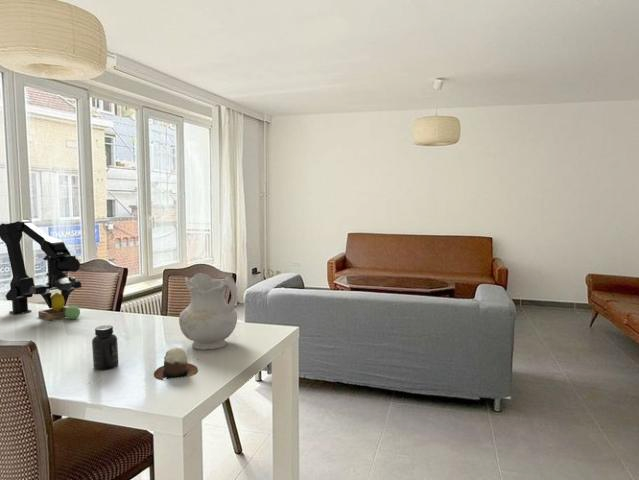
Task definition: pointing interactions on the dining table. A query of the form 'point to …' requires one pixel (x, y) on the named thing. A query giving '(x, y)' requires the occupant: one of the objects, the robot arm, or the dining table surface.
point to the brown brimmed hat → (175, 365)
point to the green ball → (72, 312)
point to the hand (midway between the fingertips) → (57, 307)
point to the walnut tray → (52, 314)
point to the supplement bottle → (104, 348)
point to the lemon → (57, 301)
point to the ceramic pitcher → (209, 312)
